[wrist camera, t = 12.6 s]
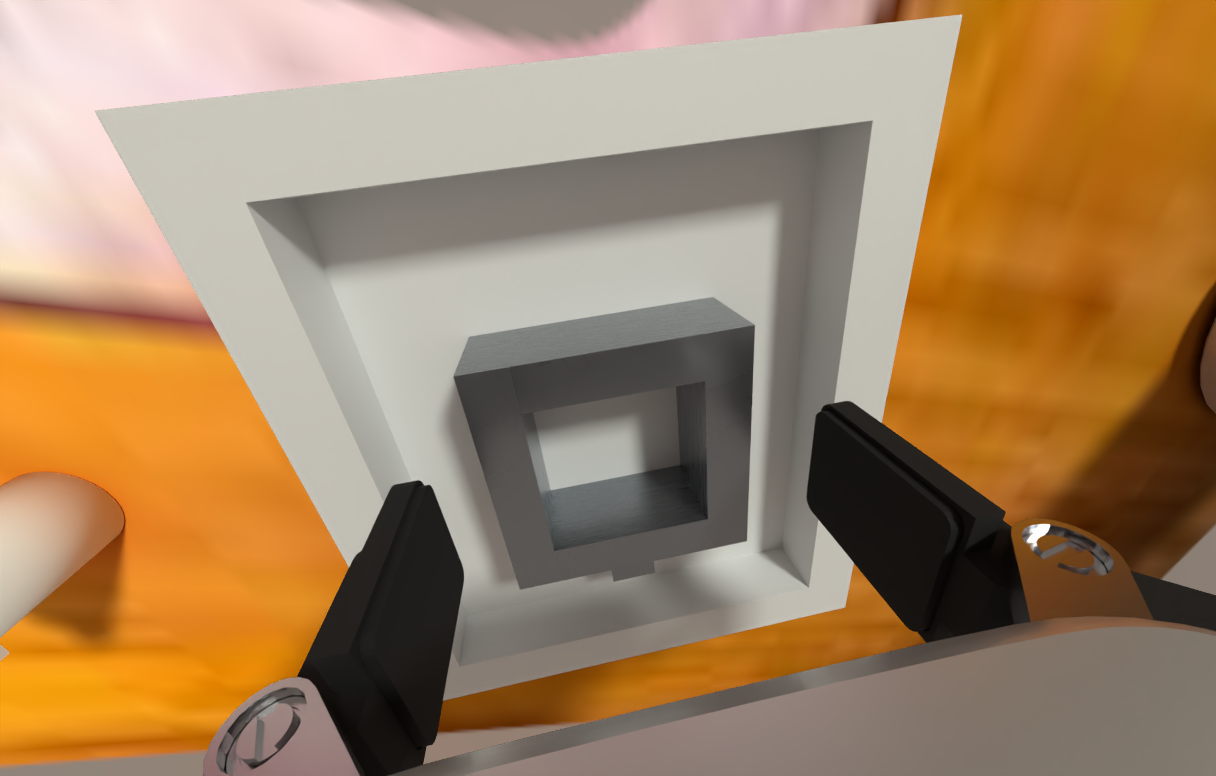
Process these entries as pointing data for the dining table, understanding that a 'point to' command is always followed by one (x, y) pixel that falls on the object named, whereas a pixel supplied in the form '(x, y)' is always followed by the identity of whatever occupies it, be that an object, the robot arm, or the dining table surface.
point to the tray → (562, 289)
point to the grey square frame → (601, 369)
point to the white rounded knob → (48, 537)
